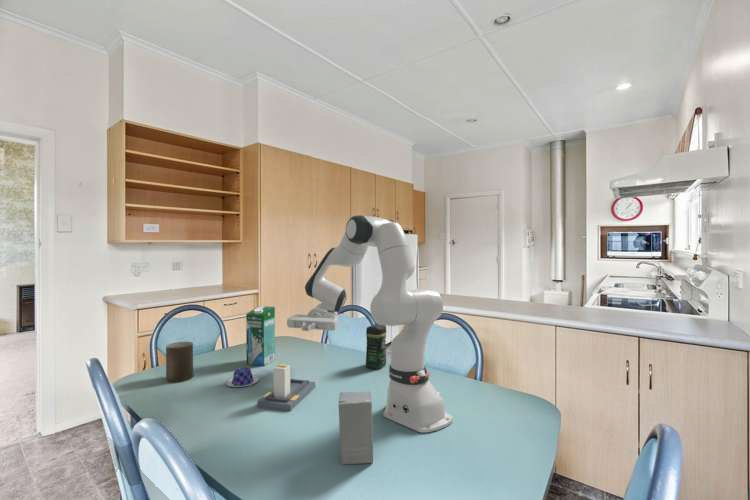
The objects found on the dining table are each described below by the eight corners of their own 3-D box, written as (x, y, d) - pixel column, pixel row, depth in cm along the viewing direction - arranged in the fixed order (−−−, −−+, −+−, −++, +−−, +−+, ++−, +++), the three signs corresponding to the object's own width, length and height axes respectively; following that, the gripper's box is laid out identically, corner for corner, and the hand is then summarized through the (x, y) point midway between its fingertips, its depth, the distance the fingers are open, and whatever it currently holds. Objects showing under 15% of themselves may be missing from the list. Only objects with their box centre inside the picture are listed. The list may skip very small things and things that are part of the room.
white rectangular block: (279, 392, 125) (279, 363, 125) (290, 393, 124) (290, 363, 124) (273, 397, 122) (273, 366, 121) (284, 398, 121) (284, 367, 120)
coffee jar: (379, 371, 153) (379, 327, 153) (363, 368, 157) (363, 325, 156) (388, 364, 162) (388, 323, 162) (373, 361, 165) (373, 321, 165)
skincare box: (372, 449, 94) (372, 389, 94) (373, 466, 87) (373, 401, 87) (340, 450, 94) (340, 390, 94) (338, 467, 87) (338, 402, 87)
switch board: (286, 384, 138) (286, 377, 138) (315, 387, 136) (315, 379, 136) (257, 406, 119) (257, 398, 119) (290, 410, 116) (290, 402, 116)
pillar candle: (192, 380, 142) (192, 342, 142) (163, 384, 138) (163, 345, 138) (194, 372, 151) (194, 337, 151) (168, 375, 147) (167, 339, 147)
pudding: (219, 385, 138) (219, 372, 138) (242, 375, 149) (242, 362, 149) (243, 391, 133) (243, 376, 133) (265, 379, 144) (265, 366, 144)
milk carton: (246, 364, 162) (246, 308, 161) (258, 358, 170) (258, 305, 170) (263, 366, 159) (263, 309, 159) (275, 360, 168) (274, 306, 167)
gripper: (294, 309, 152) (279, 319, 139) (341, 312, 148) (330, 322, 135) (295, 323, 153) (280, 334, 140) (341, 326, 149) (330, 338, 136)
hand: (305, 328), depth 137 cm, fingers closed
